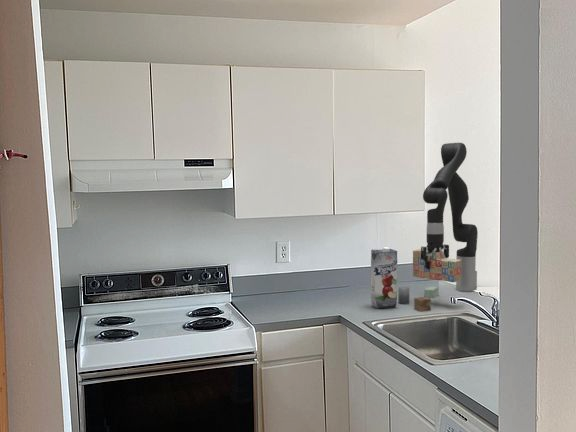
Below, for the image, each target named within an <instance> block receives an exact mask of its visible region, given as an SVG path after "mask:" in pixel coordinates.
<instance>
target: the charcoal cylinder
mask: <svg viewBox="0 0 576 432" xmlns="http://www.w3.org/2000/svg"><path fill="white" fill-rule="evenodd" d="M397 301H398V303H397V304H400V305H409V304H410V287H408V286H398V287H397Z"/></svg>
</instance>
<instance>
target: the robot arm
mask: <svg viewBox="0 0 576 432" xmlns="http://www.w3.org/2000/svg"><path fill="white" fill-rule="evenodd" d="M440 157H441V162H442V165H443V166H442V167H441V168H440V169H439V170H438V171H437V172H436V174H435V177H434V178H433V181H431V183H429V184H428V185H427V186H426V188H425V189H424V191H423V194H422V198H423V201H424V203H426V204H432V205H433V204H435V205H437V206H436V207H435V208H431V209H427V213H426V215H427V216H426V217H427V218H426V219H427V220H426V246H421V247H420V249H421V259H422V260H424V261H425V268H426V269H428V270H429V269H430V261H429V260H430V259H431V257H432V256H433V253H435V252H441V254H442V257H443V258H448V259H450V245H449V244H445V242H444V241H445V240H444V238H445V235H444V234H445V226H444V212H445V207H446V204H447V200H449V204H450V205H449V206H450V211H451V220H452V233H453V235H452V236H453V239H454V240H455V242H458V243H466V244H465V246H464V247H462V248H458V249H457V250H456V258H455V259H456V260H461V280H460V281H457V282H455V283H456V284H455V289H456V291H460V292H474V291H477V290H478V286H477V285H478V284H477V283H478V271H477V270H476V266H477V265H476V262H477V261H476V260H477V256H476V254H477V248H478V235H479V234H478V233H479V232H478V227H477V226H476V224H472V223H463V213H464V210H465V208H466V207H467V205H468V203H469V200H470V199H469V198H470V197H469V191H468V186H467V185H468V184H466V182H465V181H464V180H463V179H462V177H461V176H460V175H459V174H458V173H457V171H458V169H459V168H460V167H461V165H463V163H464V161H465V160H466V158H467V147H466V145H465V144H464V142H450V143H449V142H447V143H443V144H442V145H441V147H440ZM427 250H428V251H427ZM426 251H427V252H430V253H431V254H426Z"/></svg>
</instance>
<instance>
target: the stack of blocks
mask: <svg viewBox="0 0 576 432" xmlns="http://www.w3.org/2000/svg"><path fill="white" fill-rule="evenodd" d="M427 251H428V250H427ZM427 251H426V254H431V253H430V252H427ZM429 261H430V269H429V270H428V269H426V268H425V261H424V260H422V259H421V248H420V249H415V250H412V277H413V278H420V279H427V280H435V281H442V282H449V283H456V282H457V281H460V280H461V260H456V258H443V257H442V254H441V252H435V253H433V256H432V257H431V259H430V260H429Z"/></svg>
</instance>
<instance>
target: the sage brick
mask: <svg viewBox="0 0 576 432" xmlns="http://www.w3.org/2000/svg"><path fill="white" fill-rule="evenodd" d="M423 291H424V292H423V294H424V296H423V297H425V298H428V299H434V298H435V297H438V296H439V287H437V286H429V287H426V288H424V290H423Z"/></svg>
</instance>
